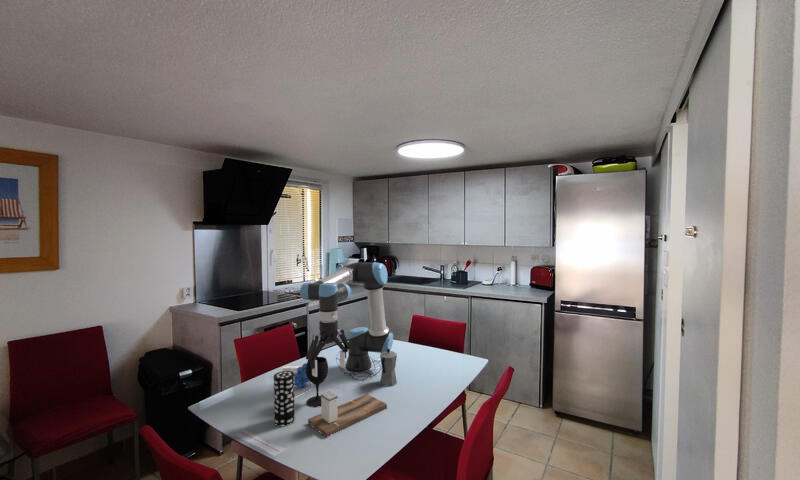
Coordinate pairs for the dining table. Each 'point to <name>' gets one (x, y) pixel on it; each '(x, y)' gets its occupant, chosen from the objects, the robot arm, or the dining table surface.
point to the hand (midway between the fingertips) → (329, 371)
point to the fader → (329, 407)
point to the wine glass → (317, 379)
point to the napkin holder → (291, 368)
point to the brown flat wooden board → (349, 414)
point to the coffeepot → (388, 368)
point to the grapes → (301, 376)
